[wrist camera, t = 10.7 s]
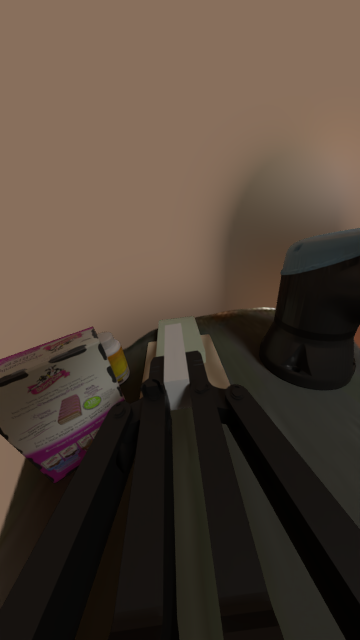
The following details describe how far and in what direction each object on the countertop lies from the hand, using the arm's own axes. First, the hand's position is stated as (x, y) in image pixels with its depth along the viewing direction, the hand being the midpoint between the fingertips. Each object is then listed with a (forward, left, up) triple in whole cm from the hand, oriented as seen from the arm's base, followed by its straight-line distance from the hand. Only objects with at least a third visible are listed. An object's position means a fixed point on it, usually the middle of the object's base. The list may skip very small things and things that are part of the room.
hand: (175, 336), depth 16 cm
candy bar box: (+14, -1, -17) cm, 22 cm away
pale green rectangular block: (0, -13, -15) cm, 20 cm away
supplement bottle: (+14, -13, -17) cm, 26 cm away
